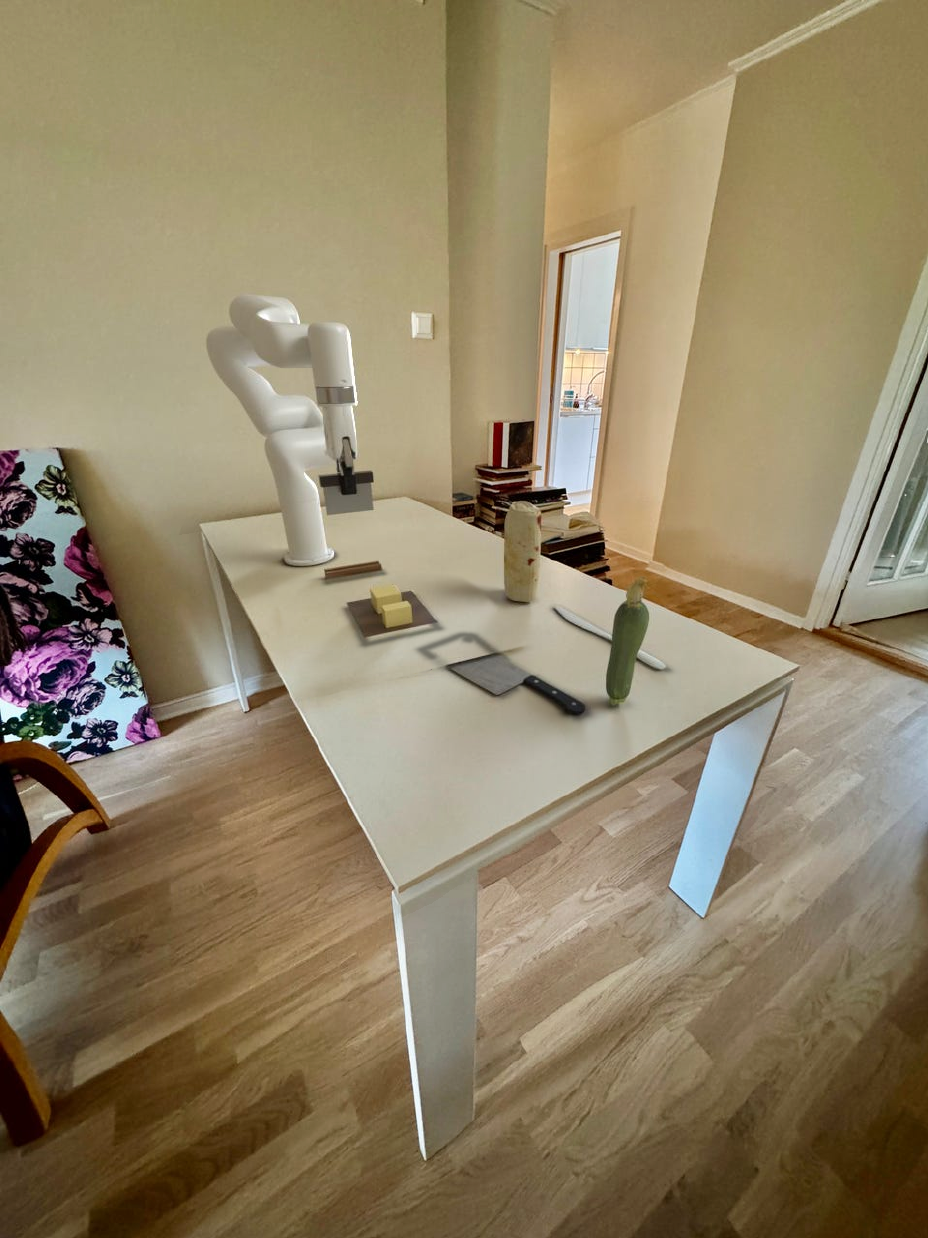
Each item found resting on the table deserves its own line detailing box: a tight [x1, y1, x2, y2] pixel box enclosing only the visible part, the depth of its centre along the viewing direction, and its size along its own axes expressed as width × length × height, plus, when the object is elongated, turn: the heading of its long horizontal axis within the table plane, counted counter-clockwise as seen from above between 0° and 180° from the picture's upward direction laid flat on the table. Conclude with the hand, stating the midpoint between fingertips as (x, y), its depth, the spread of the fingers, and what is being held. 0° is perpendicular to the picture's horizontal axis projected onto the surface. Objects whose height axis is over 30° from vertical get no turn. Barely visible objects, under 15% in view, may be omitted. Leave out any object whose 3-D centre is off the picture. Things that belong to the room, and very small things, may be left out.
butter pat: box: [381, 601, 412, 628], centre depth 89 cm, size 2×5×4 cm, turn 114°
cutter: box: [317, 470, 375, 516], centre depth 101 cm, size 2×11×8 cm, turn 114°
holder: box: [323, 560, 383, 580], centre depth 114 cm, size 3×13×2 cm, turn 114°
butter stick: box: [369, 583, 402, 614], centre depth 95 cm, size 5×5×4 cm
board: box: [346, 590, 438, 638], centre depth 94 cm, size 16×14×2 cm
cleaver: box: [445, 652, 586, 715], centre depth 76 cm, size 29×1×10 cm
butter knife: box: [554, 605, 667, 670], centre depth 87 cm, size 1×27×3 cm
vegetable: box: [605, 576, 650, 706], centre depth 65 cm, size 4×4×20 cm
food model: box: [503, 500, 542, 603], centre depth 98 cm, size 10×7×20 cm
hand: (348, 492), depth 101 cm, fingers closed on cutter, 1 cm apart
